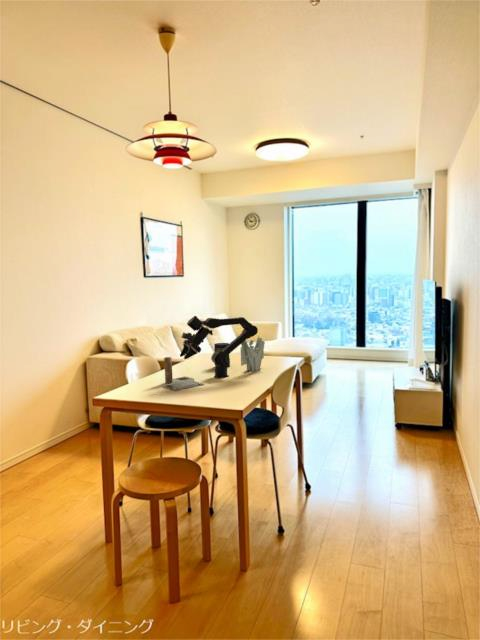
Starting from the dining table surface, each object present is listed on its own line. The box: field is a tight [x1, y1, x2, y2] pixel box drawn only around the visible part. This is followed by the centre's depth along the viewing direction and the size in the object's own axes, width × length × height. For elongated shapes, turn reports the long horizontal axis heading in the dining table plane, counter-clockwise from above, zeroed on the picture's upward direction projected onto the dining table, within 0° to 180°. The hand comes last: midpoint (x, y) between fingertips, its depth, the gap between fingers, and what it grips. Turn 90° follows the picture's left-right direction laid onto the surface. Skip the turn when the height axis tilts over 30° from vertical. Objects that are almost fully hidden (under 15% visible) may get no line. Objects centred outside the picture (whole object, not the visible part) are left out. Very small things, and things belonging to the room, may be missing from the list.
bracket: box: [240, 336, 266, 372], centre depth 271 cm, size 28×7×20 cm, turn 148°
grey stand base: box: [162, 375, 205, 392], centre depth 235 cm, size 18×12×4 cm, turn 131°
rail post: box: [163, 356, 174, 385], centre depth 244 cm, size 4×4×14 cm
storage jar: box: [213, 342, 231, 368], centre depth 285 cm, size 10×10×15 cm
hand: (182, 357), depth 247 cm, fingers open, 9 cm apart
